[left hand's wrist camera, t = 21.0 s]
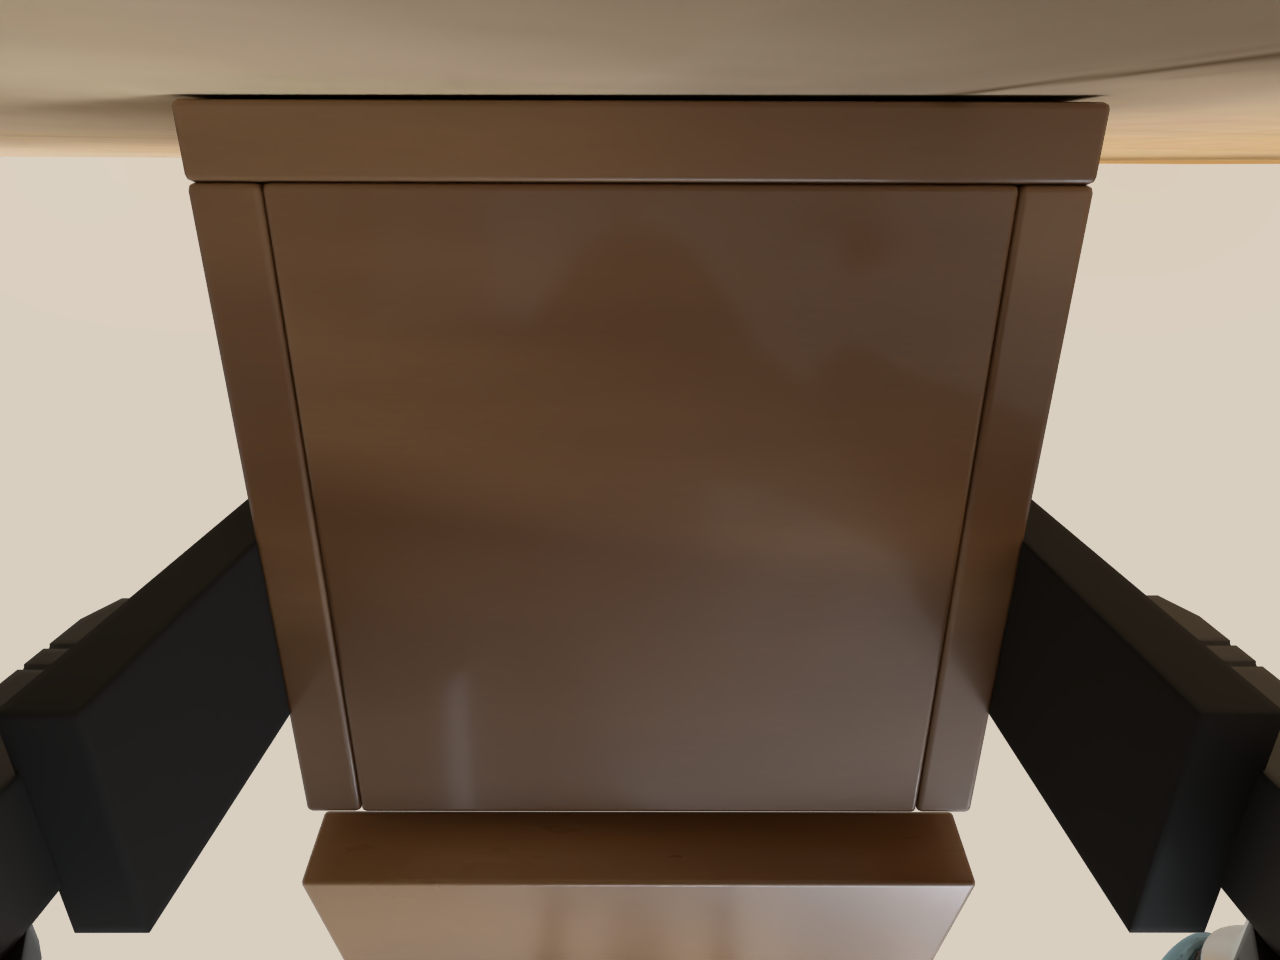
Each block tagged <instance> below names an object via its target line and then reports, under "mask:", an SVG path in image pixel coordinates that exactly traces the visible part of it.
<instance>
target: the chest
mask: <svg viewBox="0 0 1280 960" xmlns="http://www.w3.org/2000/svg"><path fill="white" fill-rule="evenodd" d="M172 109H173V115H174V120H175V125H176V130H177V135H178V140H179V146H180V151H181V156H182V161H183V166H184V171H185V175H186V177H187V179H189V180H191V181H193V182H195V183H193V184H191V185H190V186H189V195H190V200H191V205H192V210H193V215H194V220H195V226H196V231H197V236H198V241H199V246H200V252H201V257H202V262H203V267H204V272H205V277H206V282H207V288H208V293H209V298H210V303H211V308H212V314H213V319H214V324H215V329H216V334H217V339H218V345H219V350H220V355H221V360H222V365H223V371H224V376H225V381H226V386H227V391H228V396H229V402H230V407H231V412H232V417H233V422H234V427H235V433H236V438H237V443H238V448H239V453H240V458H241V464H242V469H243V474H244V479H245V484H246V490H247V495H248V500H249V505H250V510H251V515H252V521H253V526H254V531H255V536H256V541H257V546H258V552H259V557H260V562H261V567H262V572H263V578H264V583H265V588H266V593H267V598H268V603H269V609H270V614H271V619H272V624H273V629H274V634H275V640H276V645H277V650H278V655H279V660H280V665H281V671H282V676H283V681H284V686H285V691H286V696H287V702H288V707H289V712H290V717H291V722H292V728H293V733H294V738H295V743H296V748H297V753H298V759H299V764H300V769H301V774H302V779H303V784H304V790H305V795H306V800H307V805H308V808H309V809H311V810H358V809H360V808H361V806H362V807H363V809H364V810H366V811H868V812H911V811H914V809H915V806H916V808H917V809H918V810H920V811H967V810H969V808H970V805H971V799H972V794H973V789H974V784H975V779H976V774H977V769H978V764H979V759H980V754H981V749H982V744H983V739H984V734H985V729H986V724H987V719H988V714H989V709H990V704H991V699H992V694H993V689H994V684H995V679H996V674H997V669H998V664H999V659H1000V654H1001V649H1002V644H1003V639H1004V634H1005V629H1006V624H1007V619H1008V613H1009V608H1010V603H1011V598H1012V593H1013V588H1014V583H1015V578H1016V573H1017V568H1018V563H1019V558H1020V553H1021V547H1022V542H1023V539H1024V534H1025V529H1026V524H1027V519H1028V514H1029V509H1030V504H1031V499H1032V494H1033V489H1034V484H1035V479H1036V474H1037V469H1038V464H1039V459H1040V454H1041V448H1042V444H1043V439H1044V434H1045V429H1046V424H1047V419H1048V414H1049V409H1050V404H1051V399H1052V394H1053V389H1054V384H1055V379H1056V373H1057V369H1058V364H1059V358H1060V353H1061V349H1062V343H1063V339H1064V334H1065V328H1066V323H1067V319H1068V313H1069V308H1070V303H1071V298H1072V293H1073V288H1074V283H1075V278H1076V273H1077V268H1078V263H1079V258H1080V253H1081V248H1082V243H1083V238H1084V233H1085V228H1086V223H1087V218H1088V213H1089V208H1090V203H1091V198H1092V188H1091V187H1089V186H1087V184H1090V183H1092V182H1094V180H1095V178H1096V175H1097V170H1098V165H1099V160H1100V155H1101V150H1102V145H1103V140H1104V135H1105V130H1106V125H1107V120H1108V115H1109V105H1108V104H1106V103H1104V102H951V101H657V100H362V99H178V100H176V101H174V102H173V103H172Z"/></svg>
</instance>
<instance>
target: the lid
mask: <svg viewBox="0 0 1280 960" xmlns="http://www.w3.org/2000/svg"><path fill="white" fill-rule="evenodd" d="M302 883H303V886H304V888H305V890H306V892H307V893H308V895H309V897H310V899H311V901H312V902H313V904H314V906H315V908H316V910H317V911H318V913H319V915H320V917H321V919H322V921H323V922H324V924H325V926H326V928H327V930H328V931H329V933H330V935H331V937H332V939H333V940H334V942H335V944H336V946H337V948H338V949H339V951H340V953H341V955H342V957H343V959H344V960H933V959H934V957H935V955H936V953H937V951H938V950H939V948H940V946H941V944H942V943H943V941H944V939H945V937H946V935H947V934H948V932H949V930H950V928H951V927H952V925H953V923H954V921H955V919H956V918H957V916H958V914H959V912H960V911H961V909H962V907H963V905H964V903H965V902H966V900H967V898H968V896H969V895H970V893H971V891H972V889H973V887H974V886H975V881H974V878H973V875H972V872H971V869H970V866H969V863H968V860H967V857H966V854H965V851H964V848H963V845H962V842H961V839H960V836H959V833H958V830H957V827H956V824H955V821H954V818H953V815H952V814H951V813H949V812H410V811H329V812H326V814H325V815H324V818H323V821H322V824H321V827H320V830H319V833H318V836H317V839H316V842H315V845H314V848H313V851H312V854H311V857H310V860H309V863H308V866H307V869H306V872H305V875H304V878H303V881H302Z"/></svg>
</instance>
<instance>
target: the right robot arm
mask: <svg viewBox="0 0 1280 960" xmlns="http://www.w3.org/2000/svg"><path fill="white" fill-rule="evenodd" d="M1248 923H1249V921H1248V920H1246V922H1245V925H1235V926H1227V927H1223V928H1220V929H1218V930H1216V931H1214V932H1213V933H1208V932H1204V933H1195V934H1192V935H1190V936H1188V937H1186V938H1184V939H1183V940H1181V941H1180V942H1179V943H1177V944H1176V945H1175V946H1174V947H1173V948H1172V949H1171V950H1170V951H1169V952H1168V953H1167V954H1166V955H1165V956H1164V958H1163V959H1162V960H1234V958H1235V955H1236V953H1237V950H1238V948H1239V945H1240V943H1241V940H1242V938H1243V935H1244V933H1245V930H1246V928H1247V925H1248Z"/></svg>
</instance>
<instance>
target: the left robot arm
mask: <svg viewBox="0 0 1280 960" xmlns="http://www.w3.org/2000/svg"><path fill="white" fill-rule="evenodd" d="M989 714H990V716H991V717H992V719H993V721H994V722H995V724H996V725H997V727H998V728H999V730H1000V732H1001V733H1002V735H1003V736H1004V738H1005V739H1006V741H1007V742H1008V744H1009V746H1010V747H1011V749H1012V750H1013V752H1014V753H1015V755H1016V756H1017V758H1018V759H1019V761H1020V763H1021V764H1022V766H1023V767H1024V769H1025V770H1026V772H1027V774H1028V775H1029V777H1030V778H1031V780H1032V781H1033V783H1034V784H1035V786H1036V787H1037V789H1038V791H1039V792H1040V794H1041V795H1042V797H1043V798H1044V800H1045V802H1046V803H1047V805H1048V806H1049V808H1050V809H1051V811H1052V812H1053V814H1054V816H1055V817H1056V819H1057V820H1058V822H1059V823H1060V825H1061V826H1062V828H1063V830H1064V831H1065V833H1066V834H1067V836H1068V837H1069V839H1070V840H1071V842H1072V843H1073V845H1074V847H1075V848H1076V850H1077V851H1078V853H1079V854H1080V856H1081V858H1082V859H1083V861H1084V862H1085V864H1086V865H1087V867H1088V868H1089V870H1090V872H1091V873H1092V875H1093V876H1094V878H1095V879H1096V881H1097V882H1098V884H1099V886H1100V887H1101V889H1102V890H1103V892H1104V893H1105V895H1106V896H1107V898H1108V900H1109V901H1110V903H1111V904H1112V906H1113V907H1114V909H1115V910H1116V912H1117V914H1118V915H1119V917H1120V918H1121V920H1122V921H1123V923H1124V924H1125V926H1126V928H1127V929H1128V931H1129V932H1171V933H1173V932H1175V933H1176V932H1179V933H1181V932H1182V933H1185V932H1187V933H1188V932H1189V933H1193V932H1194V933H1204V931H1205V929H1206V926H1207V923H1208V921H1209V918H1210V915H1211V913H1212V910H1213V907H1214V905H1215V902H1216V899H1217V897H1218V894H1219V891H1220V889H1221V888H1222V889H1223V890H1224V891H1225V893H1226V894H1227V895H1228V896H1229V898H1230V899H1231V900H1232V901H1233V902H1234V904H1235V905H1236V906H1237V907H1238V909H1239V910H1240V911H1241V912H1242V914H1243V915H1244V916H1245V917H1246V919H1247V920H1248V921H1249V923H1248V925H1247V928H1246V930H1245V933H1244V935H1243V938H1242V940H1241V943H1240V945H1239V948H1238V950H1237V953H1236V955H1235V958H1234V960H1280V680H1279V679H1277V678H1276V677H1275V676H1274V675H1272V674H1271V673H1270V672H1269V671H1267V670H1266V669H1265V668H1264V667H1257V666H1256V661H1255V660H1254V659H1252V658H1251V657H1250V656H1248V655H1247V654H1246V653H1245V652H1244V651H1242V650H1241V649H1240V648H1238V647H1237V646H1231V645H1230V640H1228V639H1227V638H1226V637H1225V636H1223V635H1222V634H1221V633H1220V632H1218V631H1217V630H1216V629H1215V628H1213V627H1212V626H1211V625H1210V624H1208V623H1207V622H1206V621H1205V620H1203V619H1202V618H1201V617H1200V616H1198V615H1196V614H1194V613H1192V612H1190V611H1188V610H1186V609H1184V608H1182V607H1180V606H1178V605H1176V604H1174V603H1171V602H1170V601H1168V600H1166V599H1164V598H1162V597H1160V596H1146V595H1145V594H1144V593H1142V592H1141V591H1140V590H1139V589H1138V588H1136V587H1135V586H1134V585H1133V584H1132V583H1131V582H1129V581H1128V580H1127V579H1126V578H1124V577H1123V576H1122V575H1121V574H1120V573H1119V572H1117V571H1116V570H1115V569H1114V568H1113V567H1111V566H1110V565H1109V564H1108V563H1107V562H1105V561H1104V560H1103V559H1102V558H1101V557H1100V556H1098V555H1097V554H1096V553H1095V552H1094V551H1092V550H1091V549H1090V548H1089V547H1088V546H1086V545H1085V544H1084V543H1083V542H1082V541H1080V540H1079V539H1078V538H1077V537H1076V536H1074V535H1073V534H1072V533H1071V532H1070V531H1069V530H1067V529H1066V528H1065V527H1064V526H1063V525H1061V524H1060V523H1059V522H1058V521H1057V520H1055V519H1054V518H1053V517H1052V516H1051V515H1049V514H1048V513H1047V512H1046V511H1045V510H1044V509H1042V508H1041V507H1040V506H1039V505H1038V504H1036V503H1035V502H1034V501H1033V500H1032V499H1031V504H1030V509H1029V514H1028V519H1027V524H1026V529H1025V534H1024V539H1023V542H1022V547H1021V553H1020V558H1019V563H1018V568H1017V573H1016V578H1015V583H1014V588H1013V593H1012V598H1011V603H1010V608H1009V613H1008V619H1007V624H1006V629H1005V634H1004V639H1003V644H1002V649H1001V654H1000V659H999V664H998V669H997V674H996V679H995V684H994V689H993V694H992V699H991V704H990V709H989ZM289 715H290V712H289V707H288V702H287V696H286V691H285V686H284V681H283V676H282V671H281V665H280V660H279V655H278V650H277V645H276V640H275V634H274V629H273V624H272V619H271V614H270V609H269V603H268V598H267V593H266V588H265V583H264V578H263V572H262V567H261V562H260V557H259V552H258V546H257V541H256V536H255V531H254V526H253V521H252V515H251V510H250V505H249V500H246V501H245V502H244V503H243V504H242V505H240V506H239V507H238V508H237V509H236V510H234V511H233V512H232V513H231V514H230V515H228V516H227V517H226V518H225V519H224V520H222V521H221V522H220V523H219V524H218V525H216V526H215V527H214V528H213V529H212V530H210V531H209V532H208V533H207V534H206V535H205V536H203V537H202V538H201V539H200V540H199V541H197V542H196V543H195V544H194V545H193V546H191V547H190V548H189V549H188V550H187V551H185V552H184V553H183V554H182V555H181V556H179V557H178V558H177V559H176V560H175V561H174V562H172V563H171V564H170V565H169V566H168V567H166V568H165V569H164V570H163V571H162V572H160V573H159V574H158V575H157V576H156V577H155V578H153V579H152V580H151V581H150V582H149V583H147V584H146V585H145V586H144V587H143V588H141V589H140V590H139V591H138V592H137V593H135V594H134V595H133V596H132V597H131V598H122V599H120V600H118V601H116V602H114V603H112V604H110V605H108V606H106V607H104V608H102V609H100V610H98V611H96V612H94V613H92V614H90V615H88V616H86V617H84V618H82V619H80V620H79V621H78V622H76V623H75V624H74V625H73V626H71V627H70V628H69V629H68V630H66V631H65V632H64V633H63V634H61V635H60V636H59V637H58V638H56V639H55V640H54V641H53V642H51V643H50V648H49V649H43V650H41V651H40V652H39V653H38V654H36V655H35V656H34V657H33V658H32V659H30V660H29V661H28V662H27V663H25V664H24V669H23V670H17V671H15V672H14V673H13V674H12V675H10V676H9V677H8V678H7V679H5V680H4V681H3V682H2V683H0V960H41V952H40V946H39V940H38V938H37V935H36V933H35V930H34V928H33V925H32V923H33V922H34V921H35V919H36V918H37V917H38V916H39V915H40V913H41V912H42V911H43V910H44V908H45V907H46V906H47V905H48V903H49V902H50V901H51V900H52V898H53V897H54V896H55V895H56V893H57V892H58V891H59V892H60V895H61V897H62V900H63V902H64V905H65V908H66V911H67V913H68V916H69V919H70V921H71V924H72V927H73V929H74V932H75V933H149V932H150V931H151V929H152V928H153V926H154V925H155V923H156V921H157V920H158V918H159V917H160V915H161V914H162V912H163V911H164V909H165V907H166V906H167V904H168V903H169V901H170V900H171V898H172V896H173V895H174V893H175V892H176V890H177V889H178V887H179V886H180V884H181V883H182V881H183V879H184V878H185V876H186V875H187V873H188V872H189V870H190V869H191V867H192V865H193V864H194V862H195V861H196V859H197V858H198V856H199V854H200V853H201V851H202V850H203V848H204V847H205V845H206V844H207V842H208V840H209V839H210V837H211V836H212V834H213V833H214V831H215V830H216V828H217V827H218V825H219V823H220V822H221V820H222V819H223V817H224V816H225V814H226V813H227V811H228V809H229V808H230V806H231V805H232V803H233V802H234V800H235V799H236V797H237V795H238V794H239V792H240V791H241V789H242V788H243V786H244V785H245V783H246V781H247V780H248V778H249V777H250V775H251V774H252V772H253V771H254V769H255V767H256V766H257V764H258V763H259V761H260V760H261V758H262V757H263V755H264V753H265V752H266V750H267V749H268V747H269V746H270V744H271V743H272V741H273V739H274V738H275V736H276V735H277V733H278V732H279V730H280V729H281V727H282V725H283V724H284V722H285V721H286V719H287V718H288V716H289Z"/></svg>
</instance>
